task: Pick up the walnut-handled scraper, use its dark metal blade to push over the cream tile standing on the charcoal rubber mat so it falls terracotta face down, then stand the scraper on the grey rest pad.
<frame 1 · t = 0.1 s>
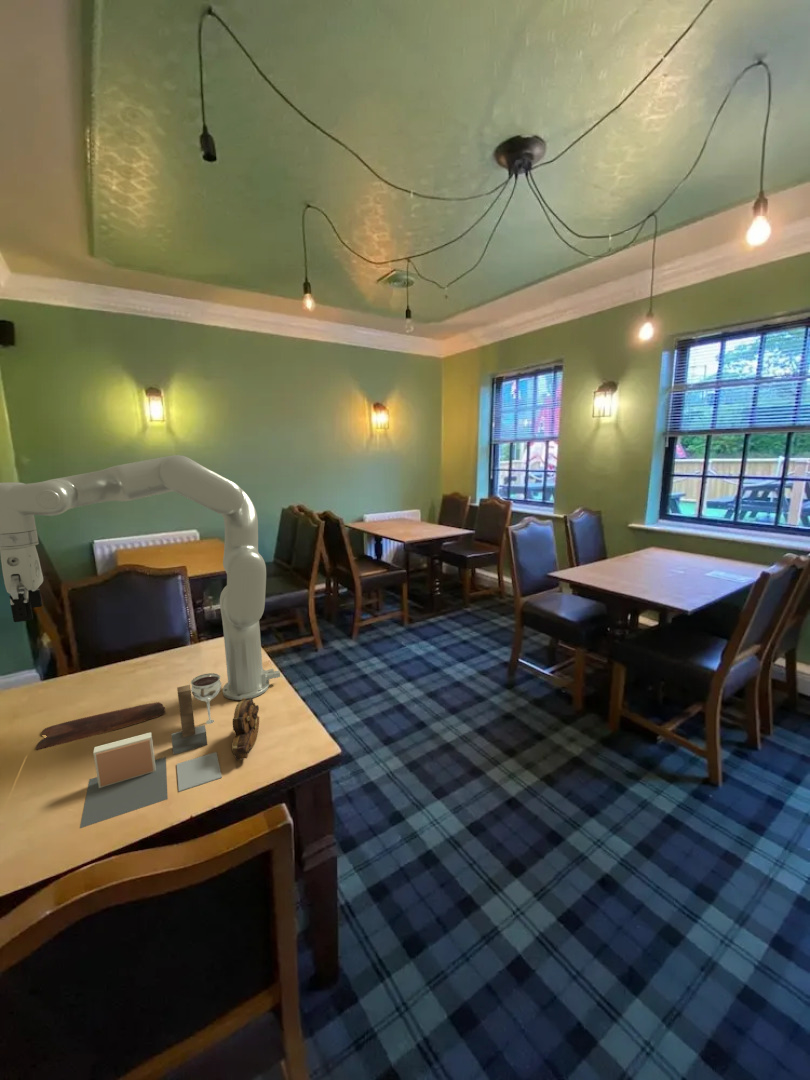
hand: (28, 613, 101), 31 cm above the table, tool pointing down, fingers open, 9 cm apart
tile: (128, 776, 93), point 1 cm above the table, touching rubber mat
rubber mat: (127, 791, 90), on the table
wineglass: (210, 724, 112), on the table
wooden carving: (248, 745, 104), on the table
rest pad: (199, 773, 95), on the table
scraper: (190, 748, 103), on the table
wooden tablet: (105, 726, 112), on the table
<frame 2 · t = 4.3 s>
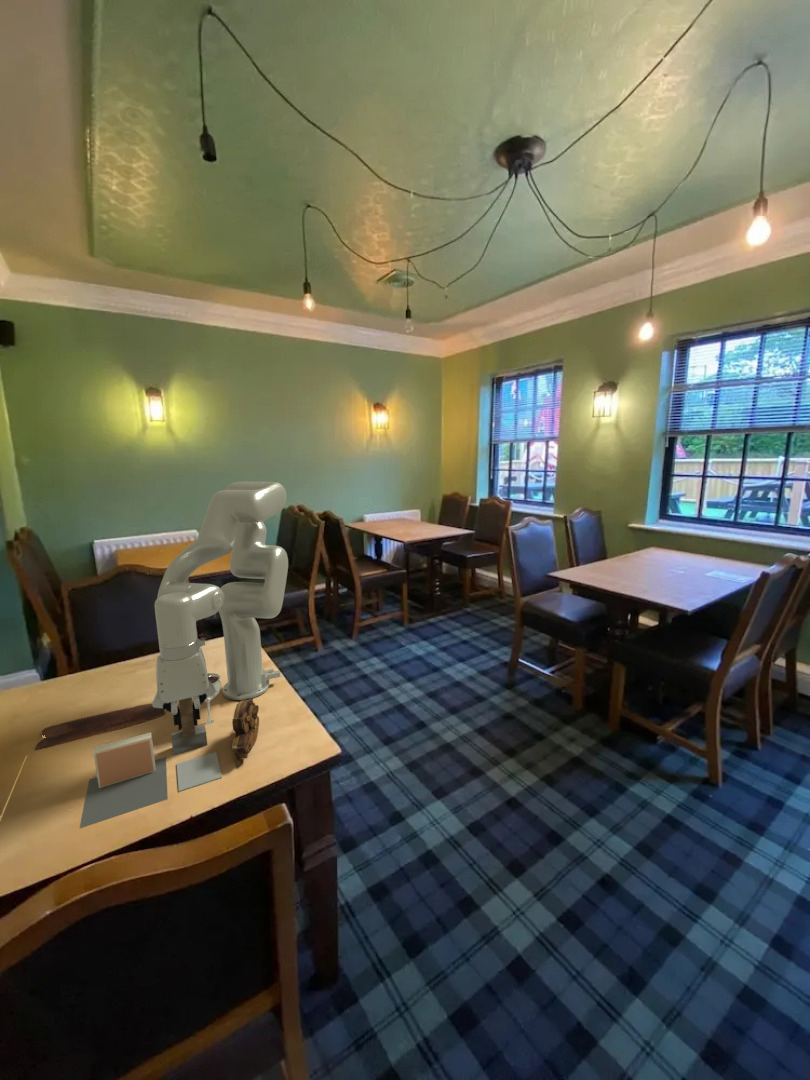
hand: (187, 724, 102), 6 cm above the table, tool pointing down, fingers closed on scraper, 2 cm apart
scraper: (190, 748, 103), on the table, touching gripper
everything else where it was.
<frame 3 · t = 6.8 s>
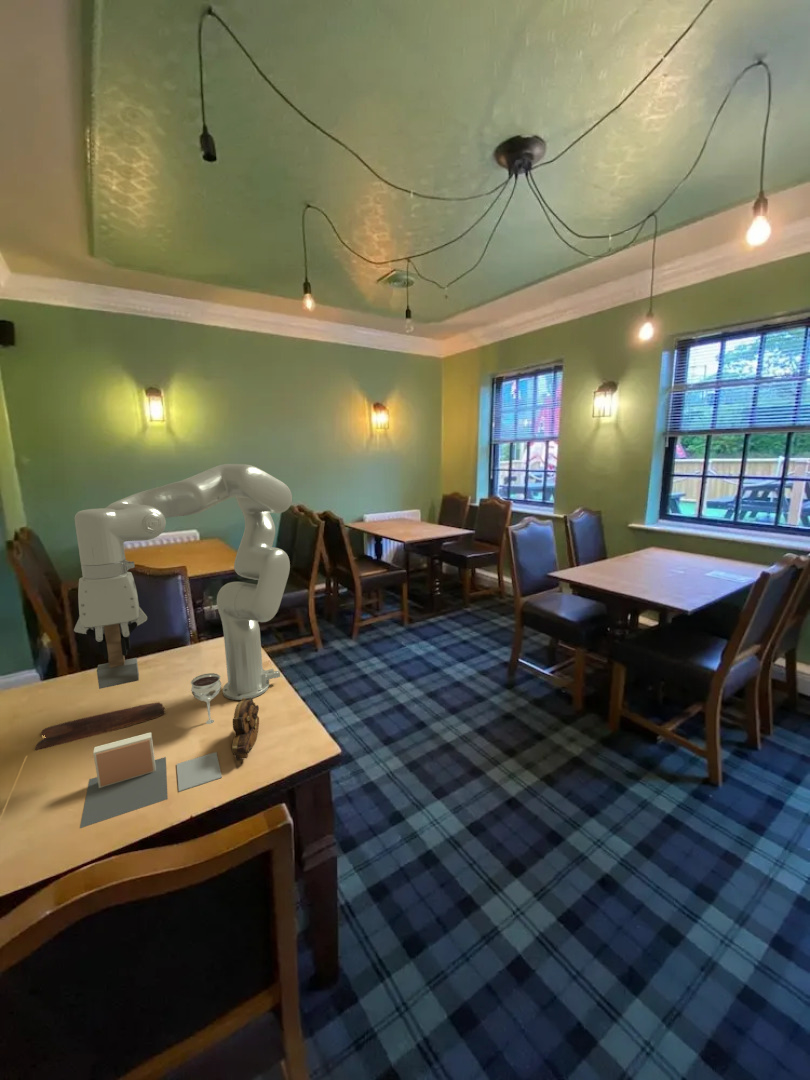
hand: (116, 654, 94), 25 cm above the table, tool pointing down, fingers closed on scraper, 2 cm apart
scraper: (119, 681, 95), point 19 cm above the table, touching gripper
everything else where it was.
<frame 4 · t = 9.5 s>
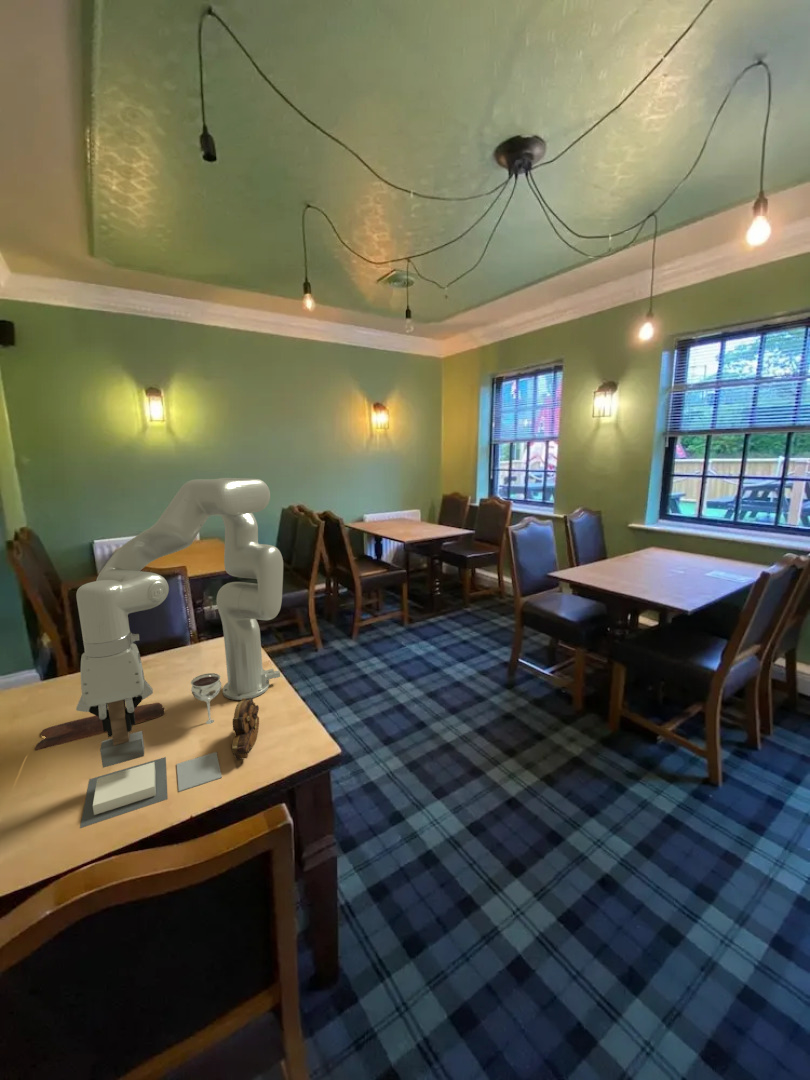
hand: (120, 729, 90), 12 cm above the table, tool pointing down, fingers closed on scraper, 2 cm apart
tile: (127, 774, 92), point 2 cm above the table, tilted 90°, touching rubber mat
scraper: (124, 757, 91), point 6 cm above the table, touching gripper
everything else where it was.
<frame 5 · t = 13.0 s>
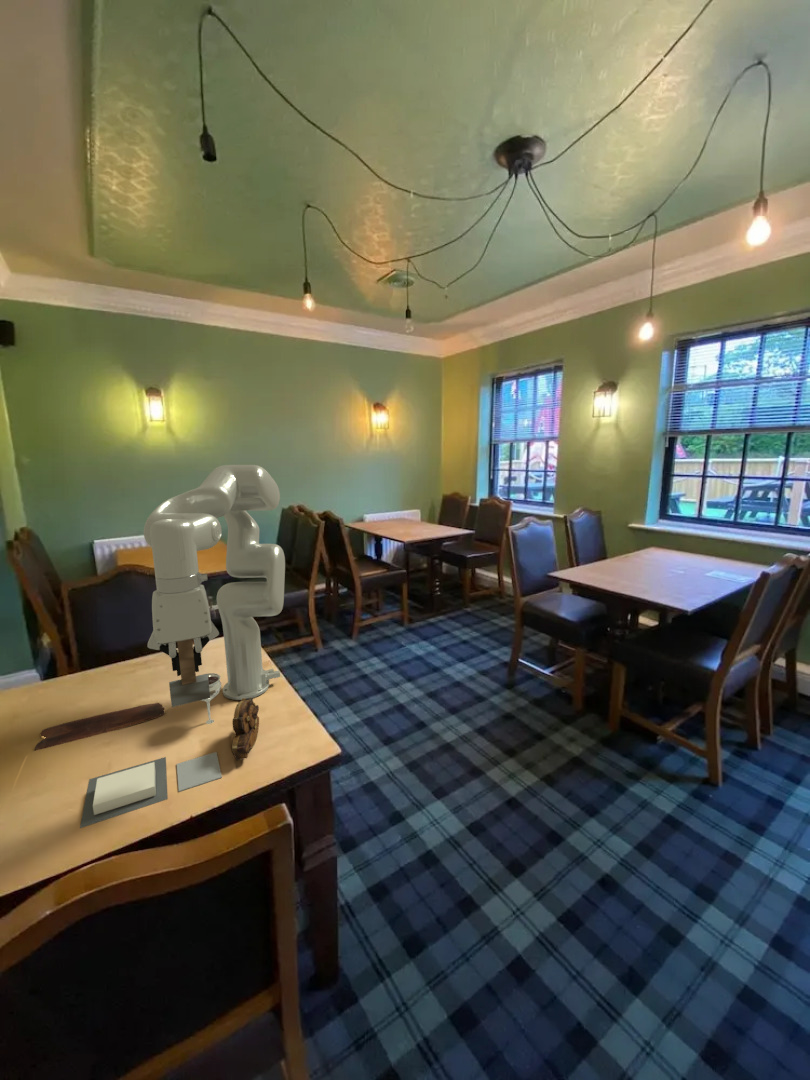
hand: (187, 670, 90), 24 cm above the table, tool pointing down, fingers closed on scraper, 2 cm apart
scraper: (190, 699, 91), point 18 cm above the table, touching gripper
everything else where it was.
when the fingers open (8 cm above the table, at t = 15.9 s): scraper stays where it is, resting on rest pad.
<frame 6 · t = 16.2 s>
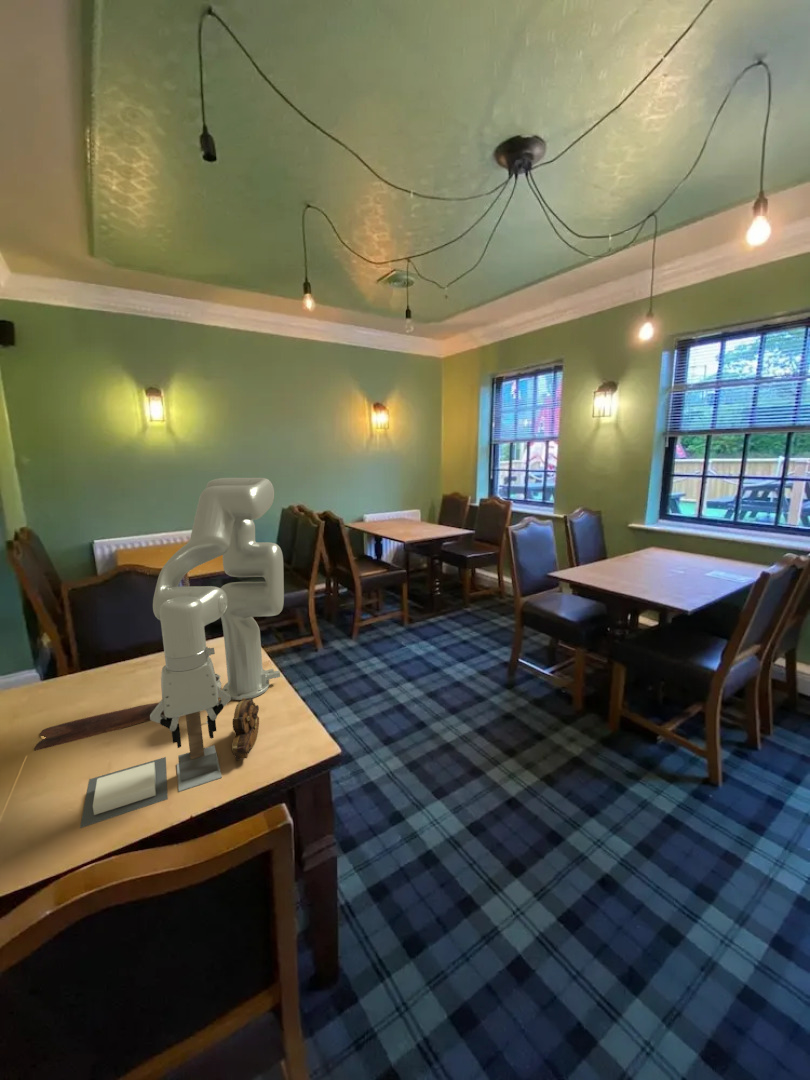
hand: (195, 738, 93), 8 cm above the table, tool pointing down, fingers open, 5 cm apart
scraper: (199, 771, 94), point 1 cm above the table, touching rest pad
everything else where it was.
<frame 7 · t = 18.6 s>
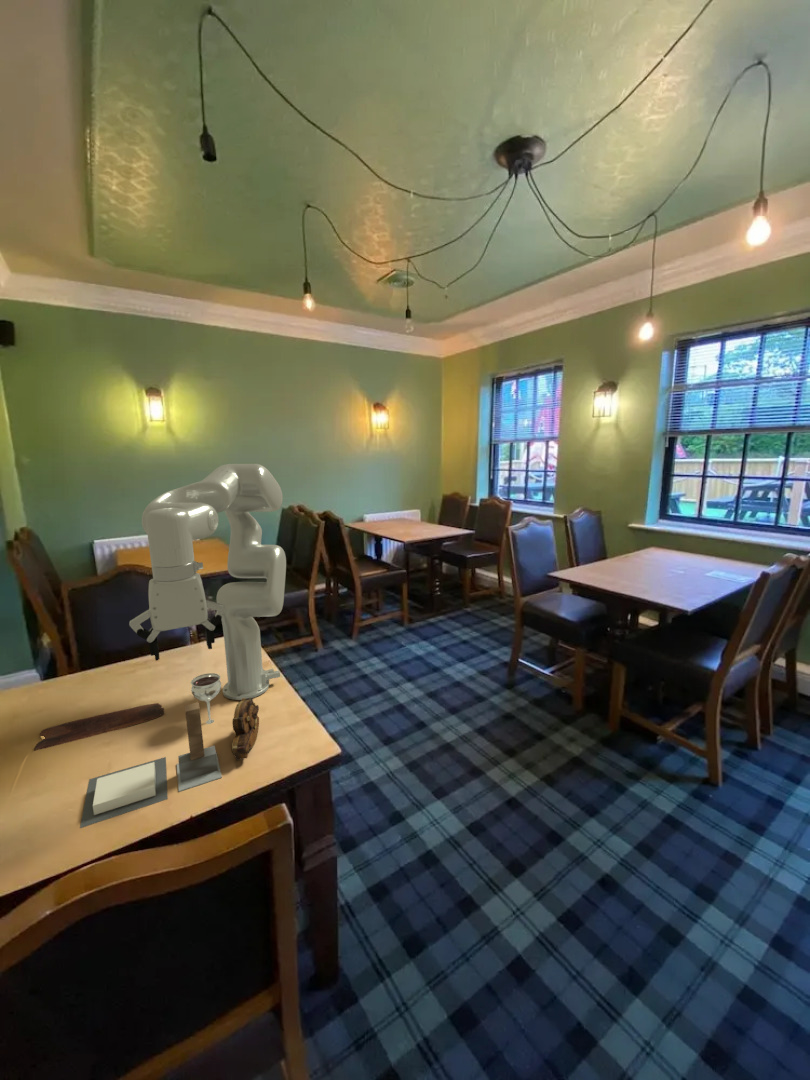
hand: (184, 652, 91), 27 cm above the table, tool pointing down, fingers open, 9 cm apart
nothing on the table moved.
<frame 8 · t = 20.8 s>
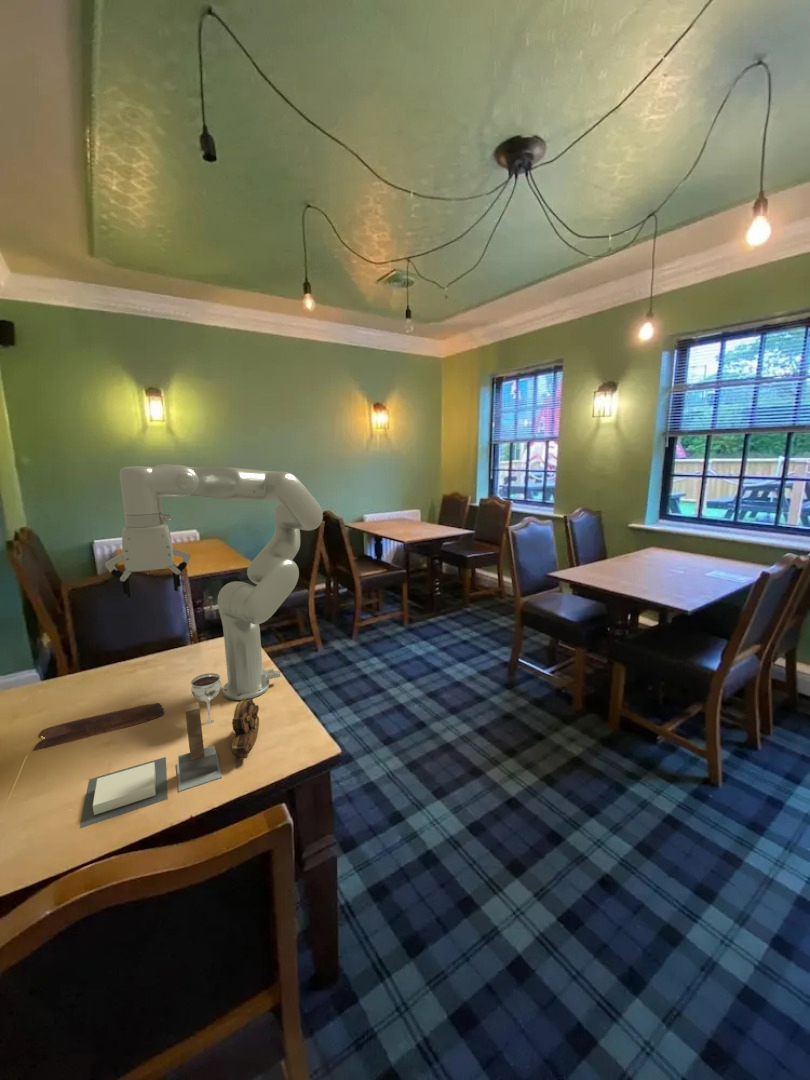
hand: (153, 592, 105), 34 cm above the table, tool pointing down, fingers open, 9 cm apart
nothing on the table moved.
at the end: tile tilted 90°; scraper 0.5 cm off-centre on the rest pad, point 0.8 cm above the rest pad's base; scraper tilted 0° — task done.
